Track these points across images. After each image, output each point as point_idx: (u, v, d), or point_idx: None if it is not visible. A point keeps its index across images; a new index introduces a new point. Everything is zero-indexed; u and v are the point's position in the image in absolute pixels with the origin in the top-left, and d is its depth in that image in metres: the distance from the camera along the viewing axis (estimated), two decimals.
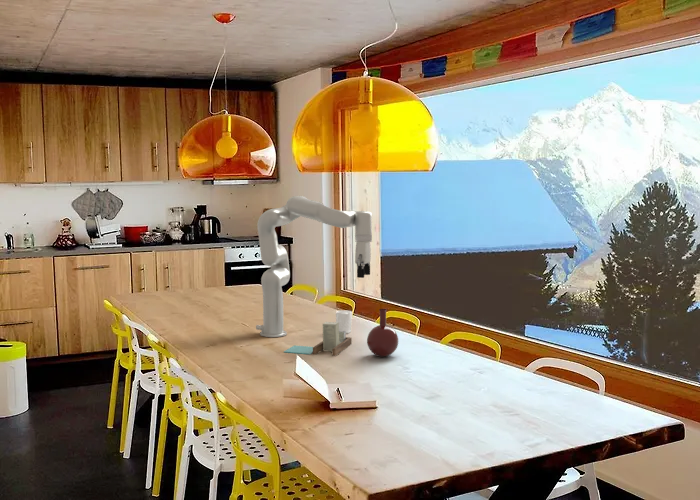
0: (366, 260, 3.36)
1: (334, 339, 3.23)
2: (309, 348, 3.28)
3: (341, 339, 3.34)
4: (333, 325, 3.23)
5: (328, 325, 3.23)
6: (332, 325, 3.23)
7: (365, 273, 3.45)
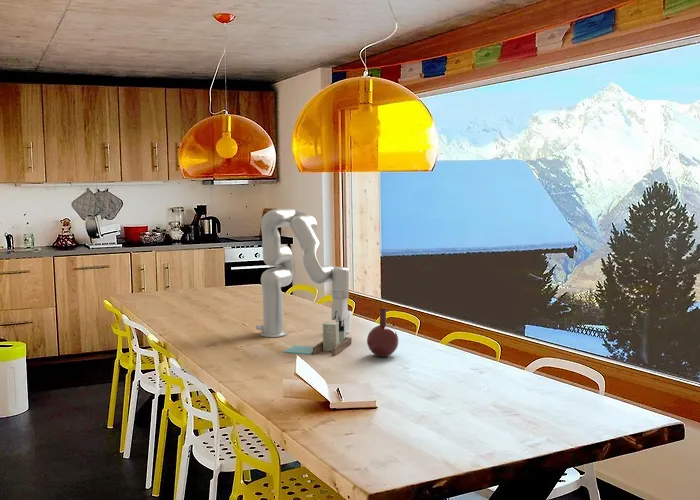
0: (343, 317, 3.34)
1: (334, 339, 3.23)
2: (309, 348, 3.28)
3: (341, 339, 3.34)
4: (333, 325, 3.23)
5: (328, 325, 3.23)
6: (332, 325, 3.23)
7: None
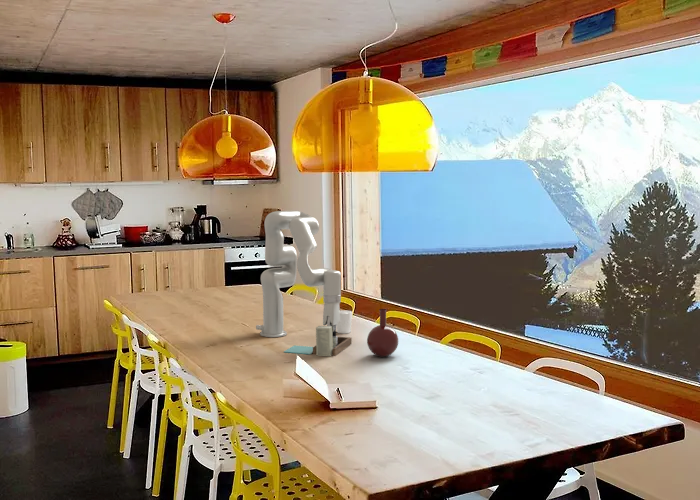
0: (334, 322, 3.23)
1: (328, 343, 3.15)
2: (309, 348, 3.28)
3: (333, 345, 3.23)
4: (327, 329, 3.14)
5: (321, 329, 3.15)
6: (326, 329, 3.14)
7: None
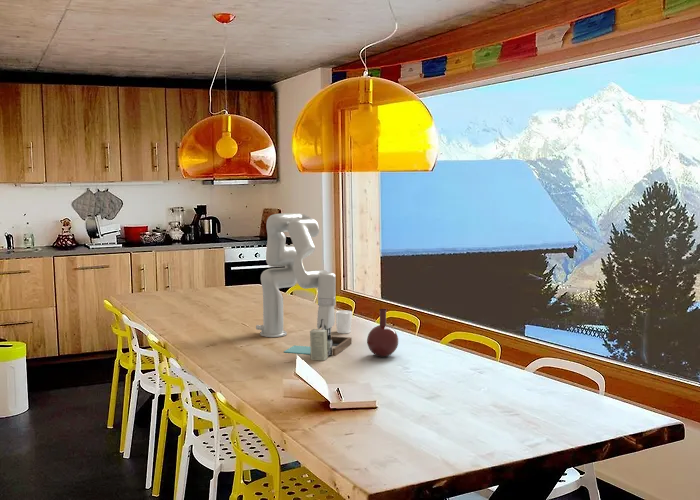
0: (329, 325, 3.16)
1: (322, 347, 3.08)
2: (309, 348, 3.28)
3: (327, 349, 3.16)
4: (321, 333, 3.07)
5: (316, 333, 3.08)
6: (320, 333, 3.07)
7: None
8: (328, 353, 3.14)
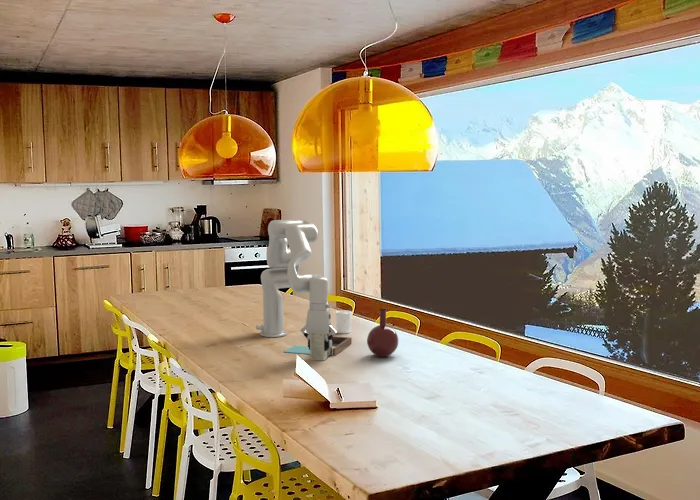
0: (310, 330, 3.09)
1: (322, 347, 3.08)
2: None
3: None
4: (321, 333, 3.07)
5: (315, 333, 3.08)
6: (320, 333, 3.07)
7: None
8: (328, 353, 3.14)
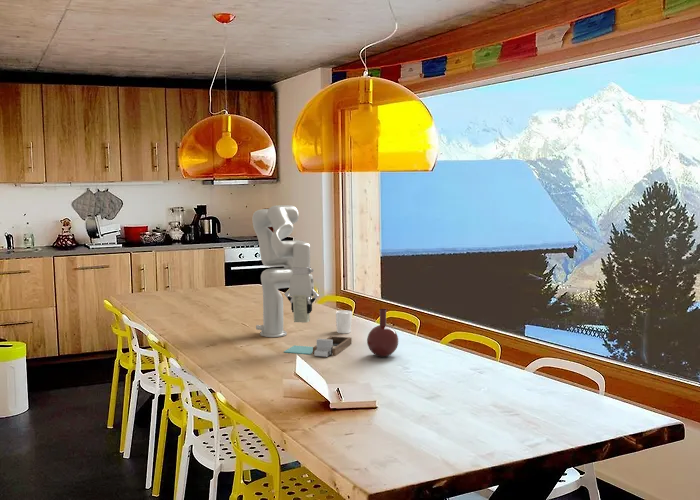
0: (293, 293, 3.22)
1: (304, 310, 3.21)
2: (309, 348, 3.28)
3: (328, 348, 3.17)
4: (303, 296, 3.21)
5: (298, 296, 3.22)
6: (302, 296, 3.21)
7: None
8: (329, 353, 3.15)
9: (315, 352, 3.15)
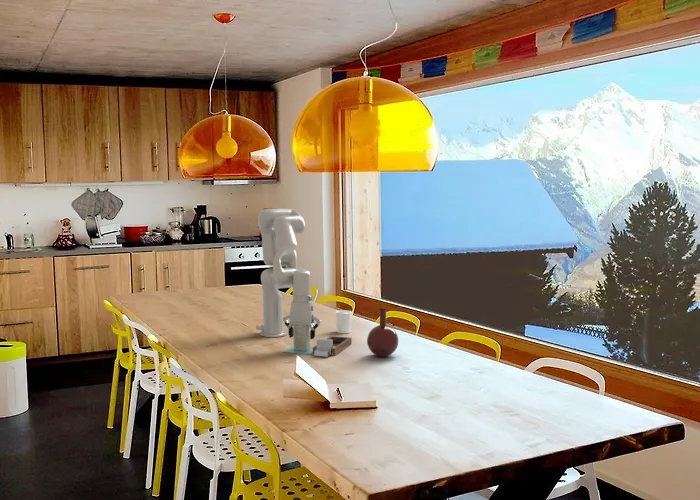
0: (293, 321, 3.24)
1: (305, 338, 3.23)
2: None
3: (328, 348, 3.17)
4: (304, 324, 3.22)
5: (299, 324, 3.23)
6: (303, 324, 3.22)
7: None
8: (329, 353, 3.15)
9: (315, 352, 3.15)
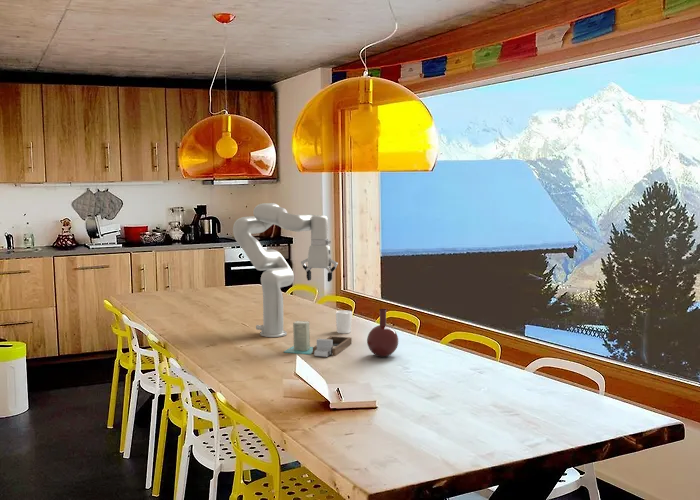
0: (311, 264, 3.37)
1: (305, 338, 3.23)
2: None
3: (328, 348, 3.17)
4: (304, 324, 3.22)
5: (299, 324, 3.23)
6: (303, 324, 3.22)
7: None
8: (329, 353, 3.15)
9: (315, 352, 3.15)
